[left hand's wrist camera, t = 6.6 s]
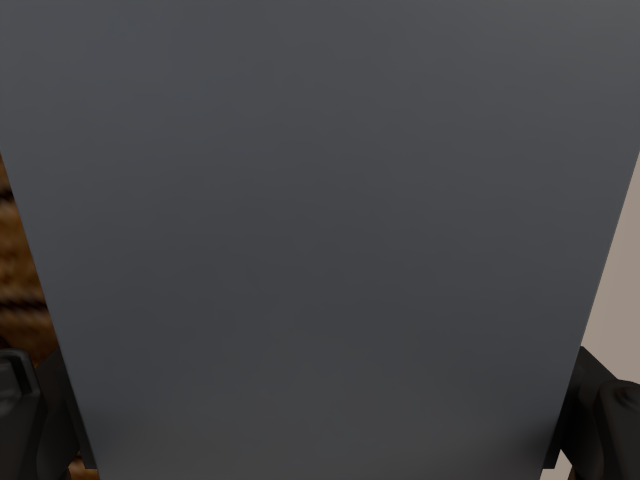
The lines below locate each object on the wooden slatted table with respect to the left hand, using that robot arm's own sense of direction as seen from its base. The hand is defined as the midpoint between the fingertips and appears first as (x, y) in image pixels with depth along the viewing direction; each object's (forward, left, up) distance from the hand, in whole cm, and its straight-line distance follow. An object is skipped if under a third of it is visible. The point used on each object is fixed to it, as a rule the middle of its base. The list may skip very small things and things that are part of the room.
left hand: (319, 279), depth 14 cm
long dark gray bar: (+3, +30, -1) cm, 30 cm away
